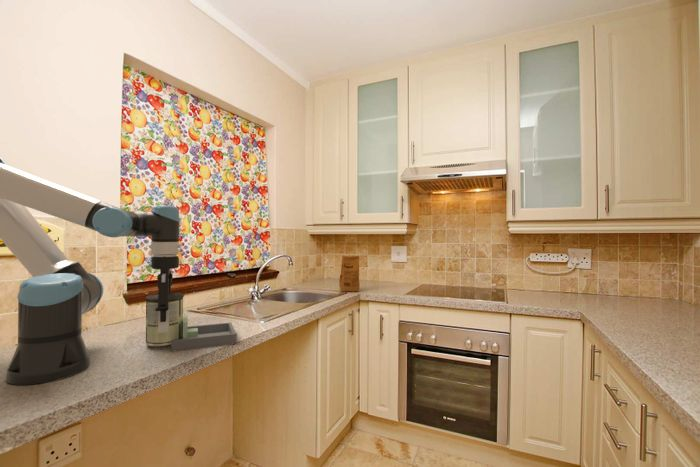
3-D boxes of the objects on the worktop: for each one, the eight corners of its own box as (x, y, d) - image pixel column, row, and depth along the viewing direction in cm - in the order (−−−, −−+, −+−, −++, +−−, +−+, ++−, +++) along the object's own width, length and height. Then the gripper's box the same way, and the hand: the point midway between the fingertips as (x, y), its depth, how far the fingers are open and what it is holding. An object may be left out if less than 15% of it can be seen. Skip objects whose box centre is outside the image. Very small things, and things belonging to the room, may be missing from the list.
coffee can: (139, 341, 102) (140, 295, 102) (174, 333, 110) (175, 291, 110) (153, 349, 95) (153, 300, 95) (189, 340, 103) (189, 295, 103)
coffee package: (339, 289, 211) (339, 255, 211) (358, 289, 212) (359, 255, 212) (339, 292, 201) (339, 256, 201) (359, 292, 202) (360, 256, 202)
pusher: (182, 346, 99) (182, 322, 99) (183, 335, 110) (183, 314, 110) (197, 344, 101) (198, 321, 101) (197, 333, 112) (197, 313, 112)
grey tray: (171, 351, 97) (171, 340, 97) (173, 336, 110) (174, 327, 110) (236, 343, 104) (236, 333, 105) (231, 330, 118) (231, 322, 118)
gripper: (177, 257, 94) (176, 336, 94) (180, 253, 114) (179, 317, 114) (146, 258, 91) (145, 339, 91) (155, 253, 111) (154, 320, 111)
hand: (164, 327), depth 103 cm, fingers closed on coffee can, 10 cm apart
